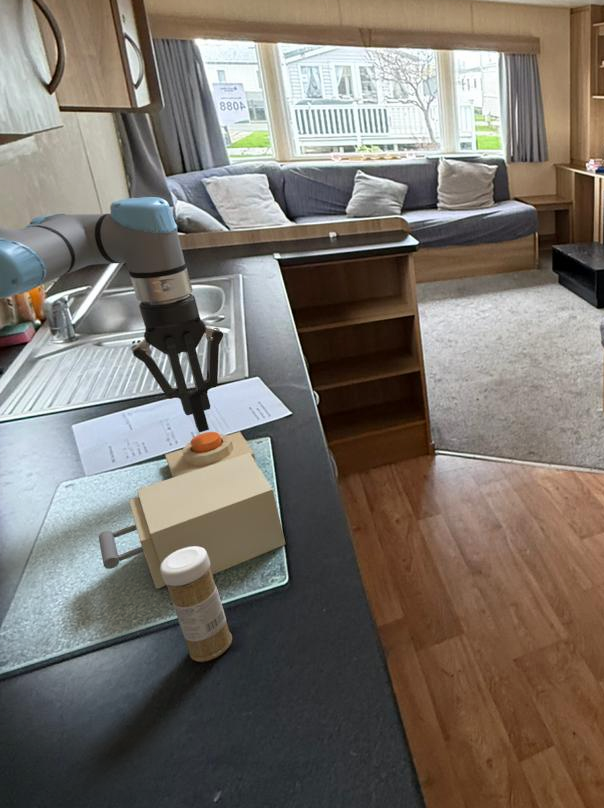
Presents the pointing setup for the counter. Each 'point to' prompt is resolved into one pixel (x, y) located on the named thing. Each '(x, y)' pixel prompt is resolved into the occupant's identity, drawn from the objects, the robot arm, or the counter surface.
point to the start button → (206, 442)
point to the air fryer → (214, 513)
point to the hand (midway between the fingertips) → (202, 428)
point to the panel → (207, 455)
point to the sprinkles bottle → (196, 602)
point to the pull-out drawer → (148, 548)
